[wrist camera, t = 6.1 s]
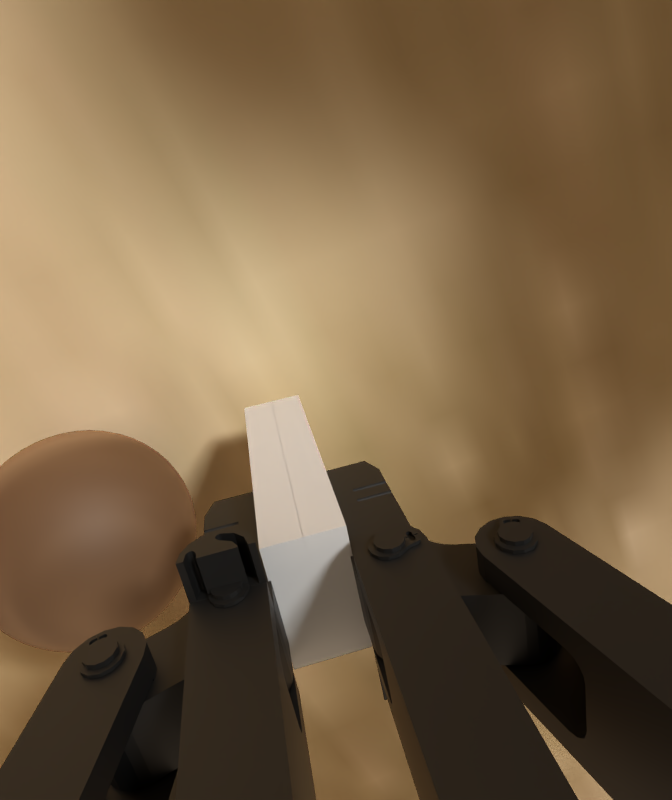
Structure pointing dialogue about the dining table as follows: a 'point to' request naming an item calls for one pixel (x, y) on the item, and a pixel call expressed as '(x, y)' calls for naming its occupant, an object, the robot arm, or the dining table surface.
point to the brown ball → (88, 537)
